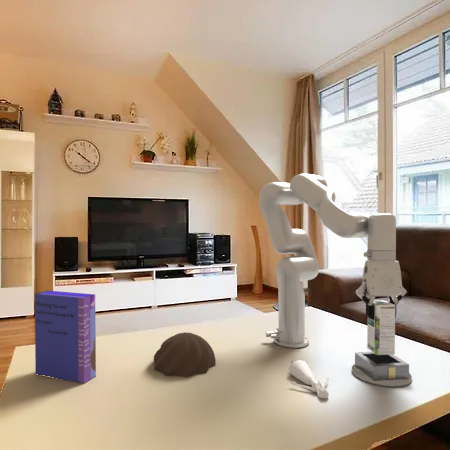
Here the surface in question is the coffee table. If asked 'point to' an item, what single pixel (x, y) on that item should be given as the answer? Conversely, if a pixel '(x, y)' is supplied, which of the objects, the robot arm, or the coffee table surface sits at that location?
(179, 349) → the decorative dome
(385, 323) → the syrup box
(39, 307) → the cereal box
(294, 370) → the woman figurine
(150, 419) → the coffee table surface
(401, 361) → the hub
